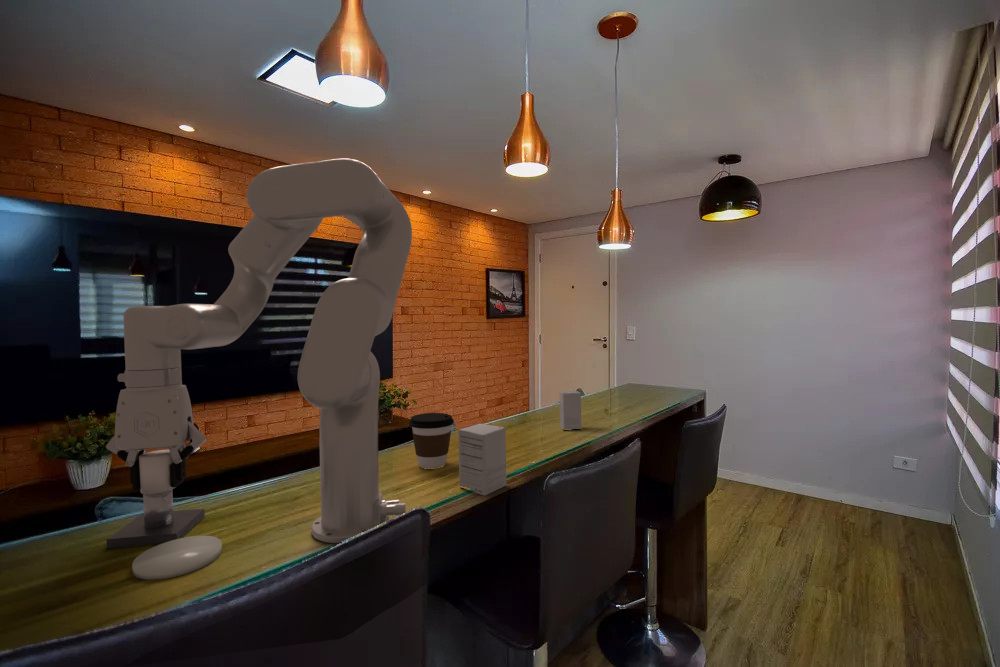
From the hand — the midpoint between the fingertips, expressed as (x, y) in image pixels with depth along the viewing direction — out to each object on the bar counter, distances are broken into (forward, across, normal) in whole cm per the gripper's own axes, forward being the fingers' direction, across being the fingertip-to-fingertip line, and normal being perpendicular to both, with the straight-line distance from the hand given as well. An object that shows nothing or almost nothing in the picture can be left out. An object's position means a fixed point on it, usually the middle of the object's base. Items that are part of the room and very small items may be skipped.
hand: (159, 484), depth 79 cm
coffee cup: (+9, +47, +26) cm, 54 cm away
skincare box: (+9, +92, +54) cm, 107 cm away
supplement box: (+9, +57, +9) cm, 58 cm away
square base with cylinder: (+8, 0, 0) cm, 8 cm away
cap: (+1, 0, 0) cm, 1 cm away
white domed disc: (+8, +8, -11) cm, 16 cm away
